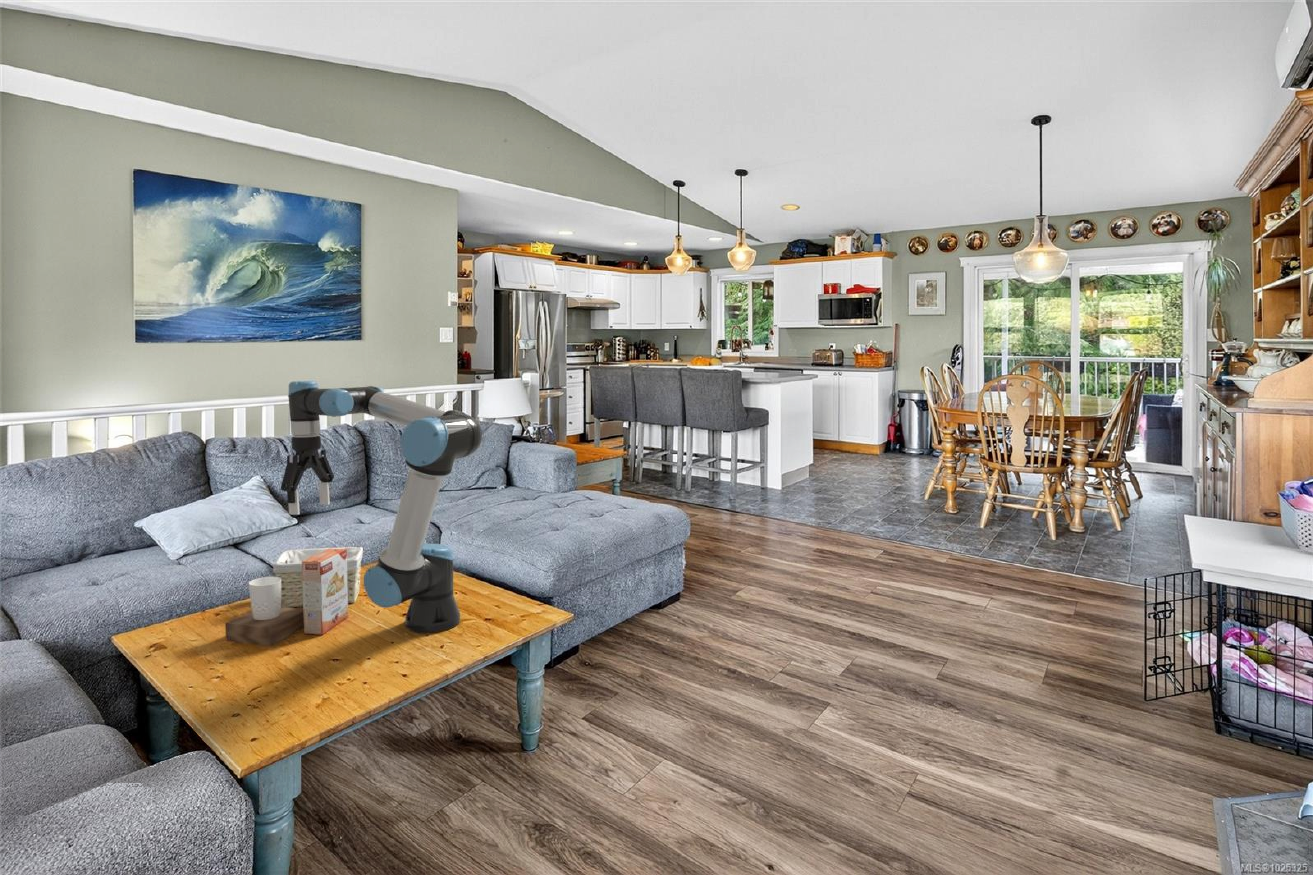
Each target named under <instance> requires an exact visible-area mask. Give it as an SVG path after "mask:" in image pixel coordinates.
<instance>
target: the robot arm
mask: <svg viewBox="0 0 1313 875" xmlns="http://www.w3.org/2000/svg"><path fill="white" fill-rule="evenodd" d="M287 397H288V406H289V420H290V434H291V435H292V437H291V438H290V439H291V440H290V441H291V442H290V443H291V449H292V450H293V451H294V452H295V455H294V454H293V455H292V454H291V455H290V454H289V455H287V457H286V466H285V470H284V475H283V477H282V478H283V479H282V482H281V486H280V491H283V492H286V495H287V496H286V497H287V498H286V499H287V504H288V515H296V516H297V515H300V514H301V513H300V496H299V491H298V490H297V488H298V486H299V484H300V482H301V480H302V477H303V475H304V472H306V471H307V470H308V469H312V470H313V472H314V474H315V475H316V477H317V478H318V479H319V482H318V494H319V505H326V506H328V505H330V504H331V501H330V499H331V498H330V483H332V482H333V481H334V479H335V475H334V473H333V470H332V468H331V465H330V463H329V460H328V457H327V451H326V449H321V448H322V437H321V436H320V434H321V433H322V432H321V421H320V416H325V417H332V418H333V417H334V418H335V417H344V416H347V415H355V414H366V415H369V416H372V417H375V418H378V419H380V420H381V419H382V420H384V421H386V422H390V423H393V424H396V425H398V426H401V427H405V428H404V429H403V432H402V434H401V438H400V448H401V449H402V451H401V453H402V454H401V455H403V458H404V460H405V462H404V464H405V465H406V467H407V468H408V469H409V470H408V473H407V477H406V479H405V480H406V481H405V484H404V488H403V491H402V494H401V499H400V503H399V506H398V508H397V513H396V516H395V520H394V524H393V527H392V532H391V534H390V539H389V542H388V546H386V547H384V548H382V549H381V550H380V552H379V556H378V558H377V562H376V564H375V565H372V566H370V567H369V568H368V569H366V571H365V572H364V574H363V588H364V591H365V593H366V595H367V597H368V598H369V599H370V601H372V602H373V603H374V604H375V605H377V606H378V607H380V608H385V609H387V608H391V607H394V606H398V605H400V604H401V603H405V602H407V601H409V600H410V603H409V605H408V608H407V612H406V615H405V628H406V629H407V630H409V631H411V632H415V633H422V634H423V633H425V634H427V633H429V634H430V633H431V634H432V633H437V632H444V631H447V630H450V629H452V628H454V627H456V626H458V625H459V624H460V622H461V612H460V610H459V606H458V604H457V601H456V599H455V596H454V558H453V557H454V556H453V549H452V548H451V547H450V546H449V545H446V544H442V543H441V544H440V543H425V541H426V536H427V533H428V531H429V526H430V523H431V519H432V517H433V513H434V510H435V506H436V503H437V499H438V498H439V497H438V495H439V492H440V489H441V486H442V483H443V479H444V478H445V477H447V476H449V475H451V473H452V470H453V467H454V463H455V460H457V459H463V458H467V457H469V456H471V455H473V454H474V453H475V452H476V451H477V450H478V448H479V447H480V446H481V443H482V439H483V431H482V427H481V425H480V423H479V422H478V420H476V419H475V417H472V416H471V415H470V414H466V413H463V412H460V411H456V410H453V409H450V410H449V409H448V410H446V411H443V410H440V409H438V408H434V407H431V406H428V405H425V404H421V403H419V402H416V401H412V400H409V399H405V398H403V397H401V396H397V395H394V394H391V393H388V392H387V391H386V390H384V388H383V387H380V386H372V385H367V386H357V387H338V388H335V387H333V388H319V385H318V382H317V381H315V380H298V381H297V380H293V381H291V382H289V384H288V395H287Z"/></svg>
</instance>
